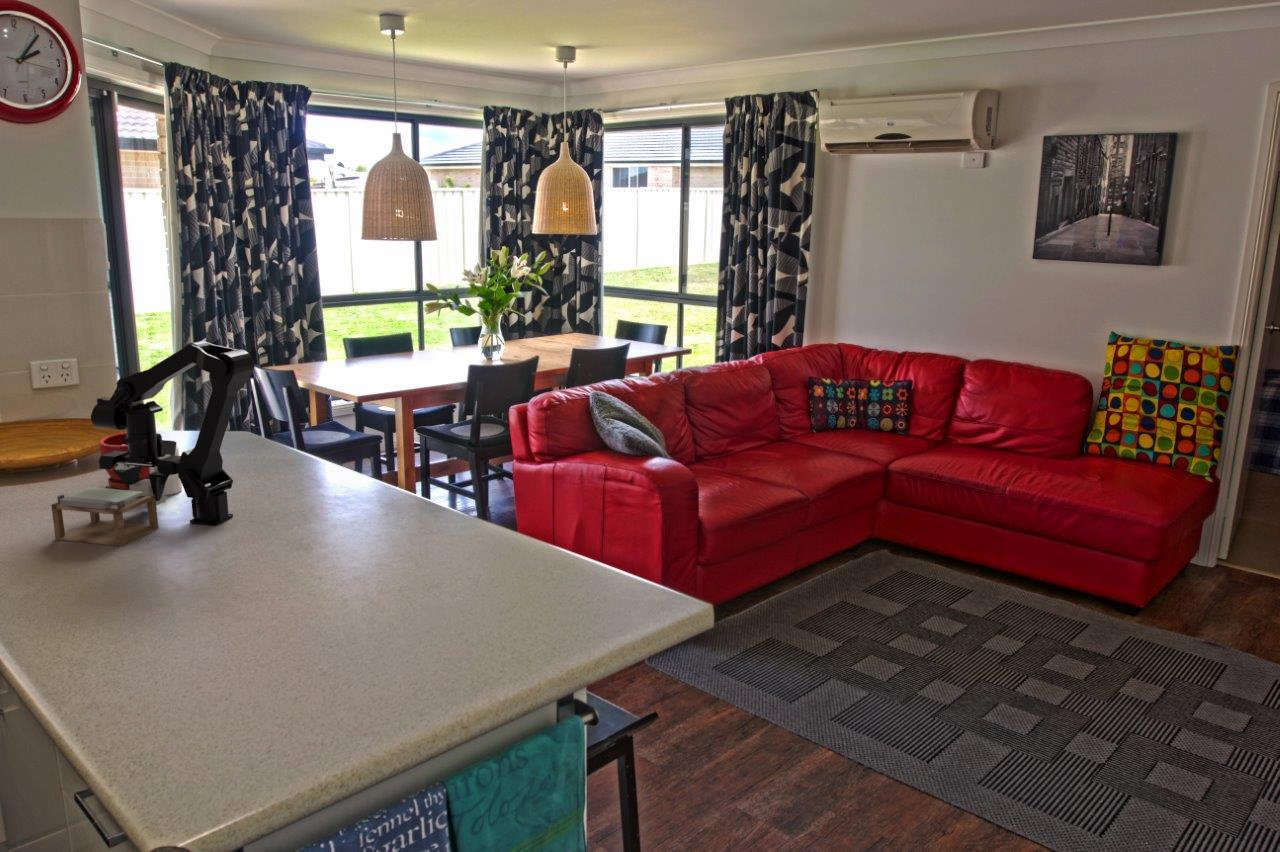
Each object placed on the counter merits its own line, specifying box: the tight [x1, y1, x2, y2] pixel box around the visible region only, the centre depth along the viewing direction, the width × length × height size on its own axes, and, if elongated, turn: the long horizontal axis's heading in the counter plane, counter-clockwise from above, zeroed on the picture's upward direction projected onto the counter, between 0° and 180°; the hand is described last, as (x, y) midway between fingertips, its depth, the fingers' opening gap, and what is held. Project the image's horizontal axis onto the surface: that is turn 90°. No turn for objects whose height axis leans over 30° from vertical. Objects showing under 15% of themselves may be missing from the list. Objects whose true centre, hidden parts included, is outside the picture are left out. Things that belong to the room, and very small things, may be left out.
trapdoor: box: [60, 486, 143, 509], centre depth 193 cm, size 12×10×1 cm
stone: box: [129, 479, 166, 509], centre depth 208 cm, size 5×5×5 cm
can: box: [149, 440, 183, 497], centre depth 222 cm, size 6×6×12 cm
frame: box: [51, 494, 159, 547], centre depth 195 cm, size 15×11×9 cm
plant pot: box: [98, 431, 150, 491], centre depth 227 cm, size 13×13×12 cm
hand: (148, 499), depth 209 cm, fingers closed on stone, 5 cm apart
